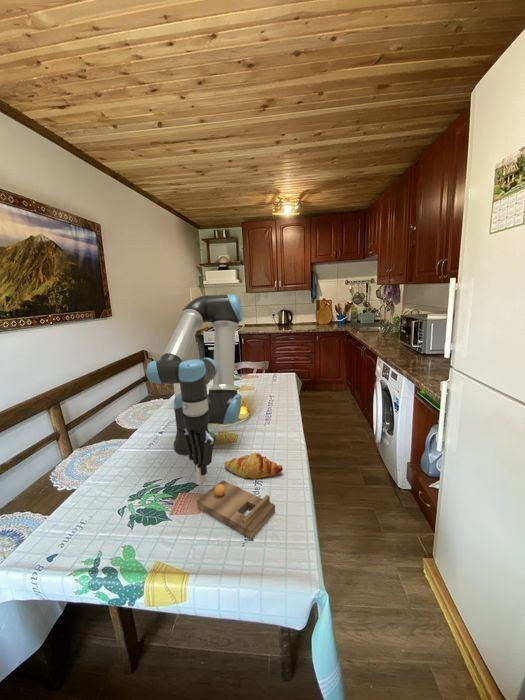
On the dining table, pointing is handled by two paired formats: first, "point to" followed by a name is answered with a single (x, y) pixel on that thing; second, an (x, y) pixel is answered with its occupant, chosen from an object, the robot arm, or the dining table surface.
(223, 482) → the wooden tray with slot
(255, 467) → the croissant
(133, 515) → the dining table surface
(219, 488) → the ball
